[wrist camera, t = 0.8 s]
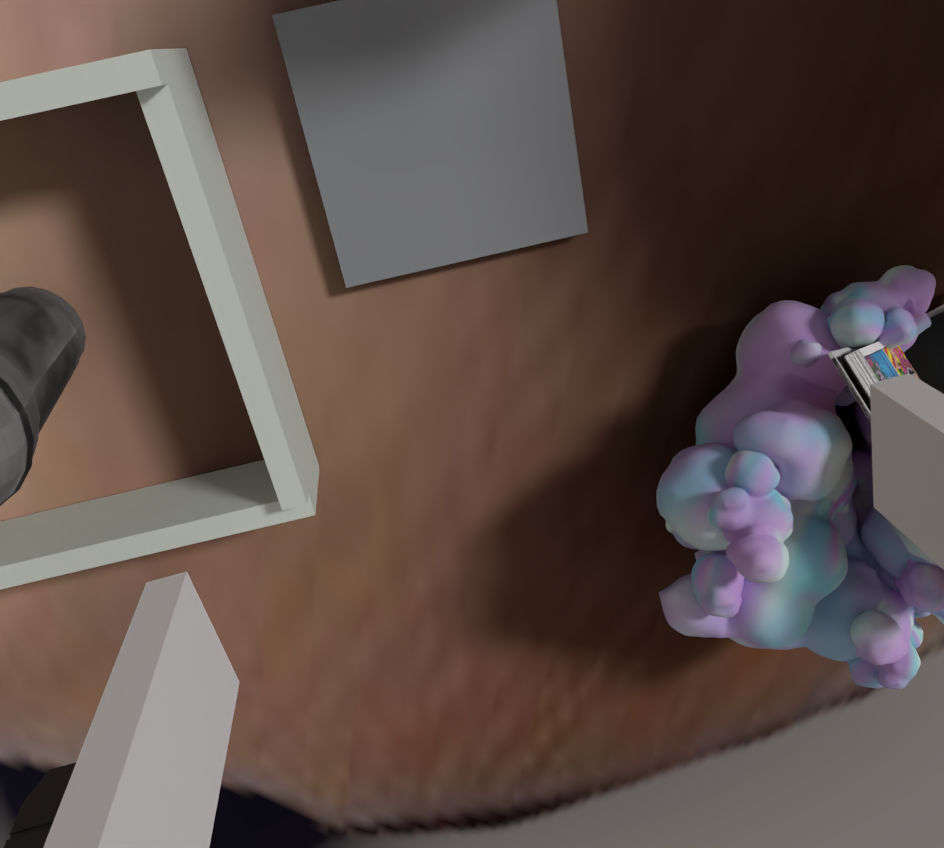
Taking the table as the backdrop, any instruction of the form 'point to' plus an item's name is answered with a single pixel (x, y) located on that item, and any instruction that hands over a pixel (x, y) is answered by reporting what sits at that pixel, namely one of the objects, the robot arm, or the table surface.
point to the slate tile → (435, 128)
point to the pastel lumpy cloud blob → (807, 487)
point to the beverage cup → (32, 373)
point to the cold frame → (240, 324)
